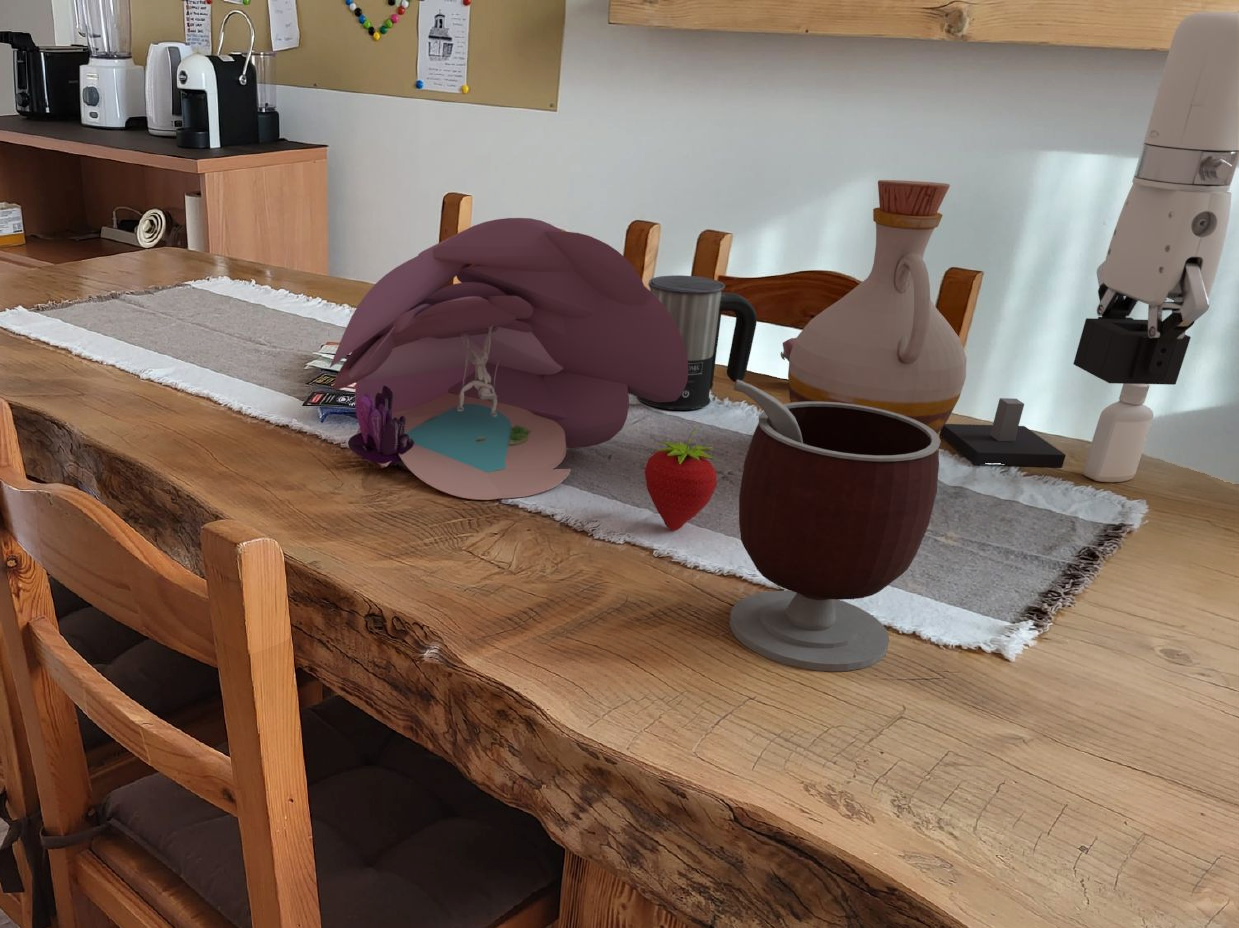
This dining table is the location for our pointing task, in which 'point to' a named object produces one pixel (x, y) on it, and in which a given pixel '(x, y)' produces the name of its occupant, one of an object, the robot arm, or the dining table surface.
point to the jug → (887, 324)
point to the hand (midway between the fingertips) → (1125, 367)
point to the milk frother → (704, 332)
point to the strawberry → (680, 482)
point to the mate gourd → (829, 525)
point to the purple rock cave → (504, 357)
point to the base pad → (1003, 440)
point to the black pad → (1120, 350)
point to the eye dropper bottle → (1120, 437)
